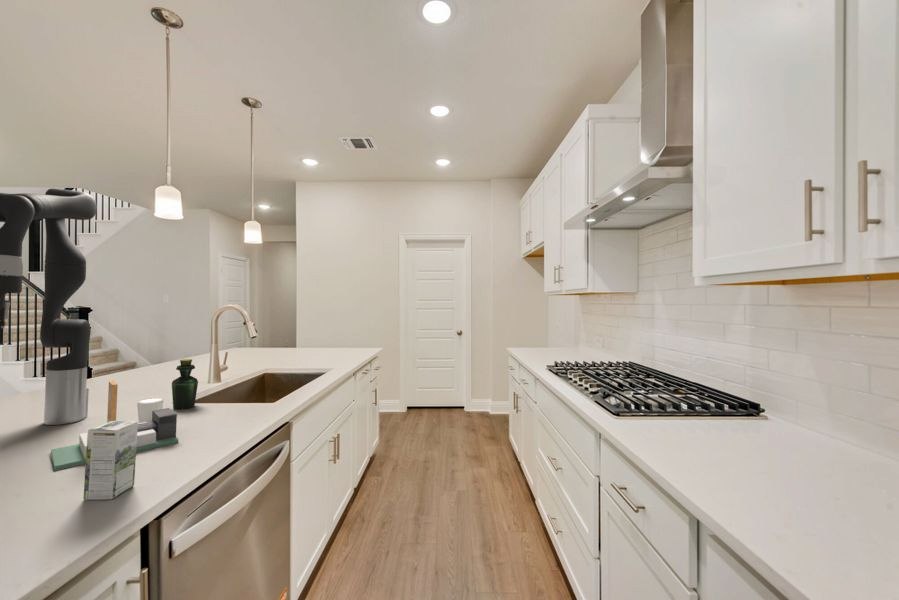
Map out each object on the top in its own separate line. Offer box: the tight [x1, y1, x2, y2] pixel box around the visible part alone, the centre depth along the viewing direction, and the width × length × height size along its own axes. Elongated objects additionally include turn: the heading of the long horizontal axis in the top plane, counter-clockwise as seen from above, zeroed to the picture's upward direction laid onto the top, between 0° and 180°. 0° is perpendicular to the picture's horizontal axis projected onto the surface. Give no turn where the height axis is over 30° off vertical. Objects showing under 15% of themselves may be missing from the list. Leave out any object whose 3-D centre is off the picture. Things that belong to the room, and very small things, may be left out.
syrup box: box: [83, 420, 139, 501], centre depth 76 cm, size 6×6×14 cm
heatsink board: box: [50, 407, 179, 471], centre depth 98 cm, size 24×14×8 cm, turn 140°
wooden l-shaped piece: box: [106, 380, 158, 430], centre depth 102 cm, size 12×6×14 cm, turn 140°
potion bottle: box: [171, 358, 199, 410], centre depth 136 cm, size 8×8×18 cm
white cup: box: [136, 397, 165, 423], centre depth 120 cm, size 7×7×7 cm
